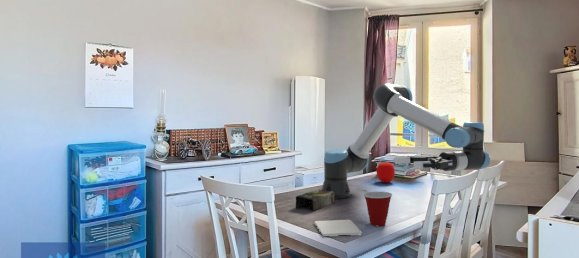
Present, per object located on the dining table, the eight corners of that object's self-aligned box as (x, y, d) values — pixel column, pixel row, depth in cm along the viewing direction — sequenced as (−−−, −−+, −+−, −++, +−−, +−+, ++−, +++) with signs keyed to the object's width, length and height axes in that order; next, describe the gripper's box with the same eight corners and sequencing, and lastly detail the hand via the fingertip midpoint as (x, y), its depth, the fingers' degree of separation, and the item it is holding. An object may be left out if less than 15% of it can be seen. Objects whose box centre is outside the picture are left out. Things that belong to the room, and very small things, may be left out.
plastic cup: (370, 217, 141) (371, 188, 141) (396, 223, 134) (396, 192, 134) (357, 224, 133) (358, 193, 132) (384, 230, 126) (385, 198, 125)
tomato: (395, 184, 205) (395, 163, 204) (376, 183, 207) (376, 162, 207) (394, 181, 216) (394, 160, 215) (376, 180, 218) (376, 159, 218)
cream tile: (314, 223, 133) (314, 221, 133) (349, 222, 135) (349, 219, 135) (322, 236, 120) (322, 233, 120) (361, 235, 121) (361, 232, 121)
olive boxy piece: (318, 199, 171) (318, 187, 171) (336, 202, 165) (336, 190, 165) (294, 208, 155) (294, 195, 155) (313, 213, 149) (313, 199, 149)
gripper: (474, 175, 127) (423, 178, 122) (432, 165, 151) (388, 167, 147) (475, 155, 127) (423, 157, 122) (432, 148, 151) (388, 149, 146)
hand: (404, 162), depth 134 cm, fingers open, 13 cm apart
